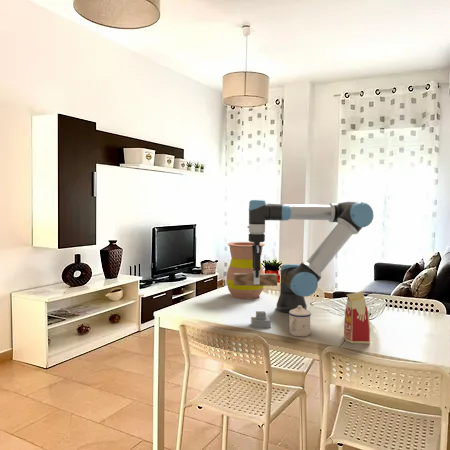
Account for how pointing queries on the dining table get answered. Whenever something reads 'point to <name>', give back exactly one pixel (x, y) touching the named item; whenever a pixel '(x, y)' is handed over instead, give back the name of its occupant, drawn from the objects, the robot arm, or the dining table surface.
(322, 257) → the robot arm
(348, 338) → the milk carton
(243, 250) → the vase
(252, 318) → the block
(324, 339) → the dining table surface
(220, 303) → the dining table surface
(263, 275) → the walnut bar
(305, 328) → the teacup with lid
